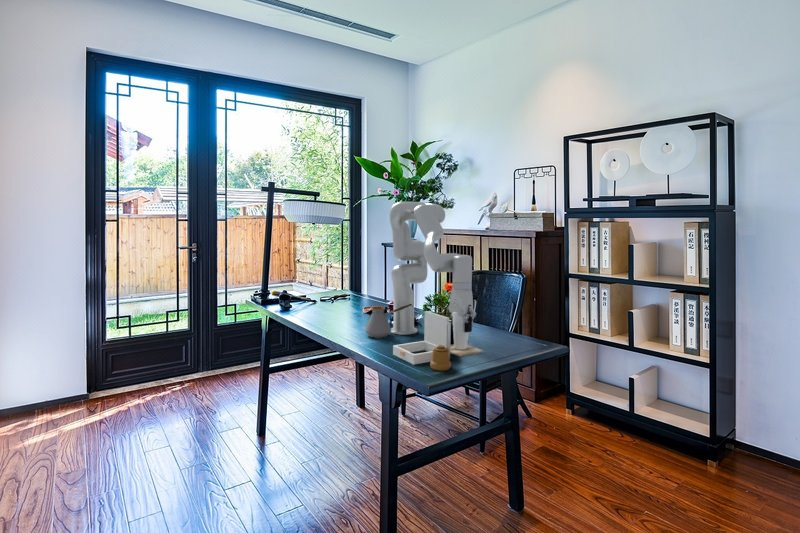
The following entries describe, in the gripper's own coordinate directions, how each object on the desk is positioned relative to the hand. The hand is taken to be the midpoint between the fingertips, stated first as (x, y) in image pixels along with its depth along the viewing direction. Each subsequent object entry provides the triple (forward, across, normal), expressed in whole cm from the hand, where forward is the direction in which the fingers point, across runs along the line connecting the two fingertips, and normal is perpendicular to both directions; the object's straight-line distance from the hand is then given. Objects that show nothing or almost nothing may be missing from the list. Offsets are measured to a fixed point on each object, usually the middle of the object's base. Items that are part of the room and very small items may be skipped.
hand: (461, 329), depth 189 cm
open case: (+8, -1, -19) cm, 21 cm away
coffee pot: (+9, -34, -14) cm, 38 cm away
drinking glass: (+8, 0, 0) cm, 8 cm away
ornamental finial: (+9, +14, -20) cm, 26 cm away
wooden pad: (+8, 0, 0) cm, 8 cm away
